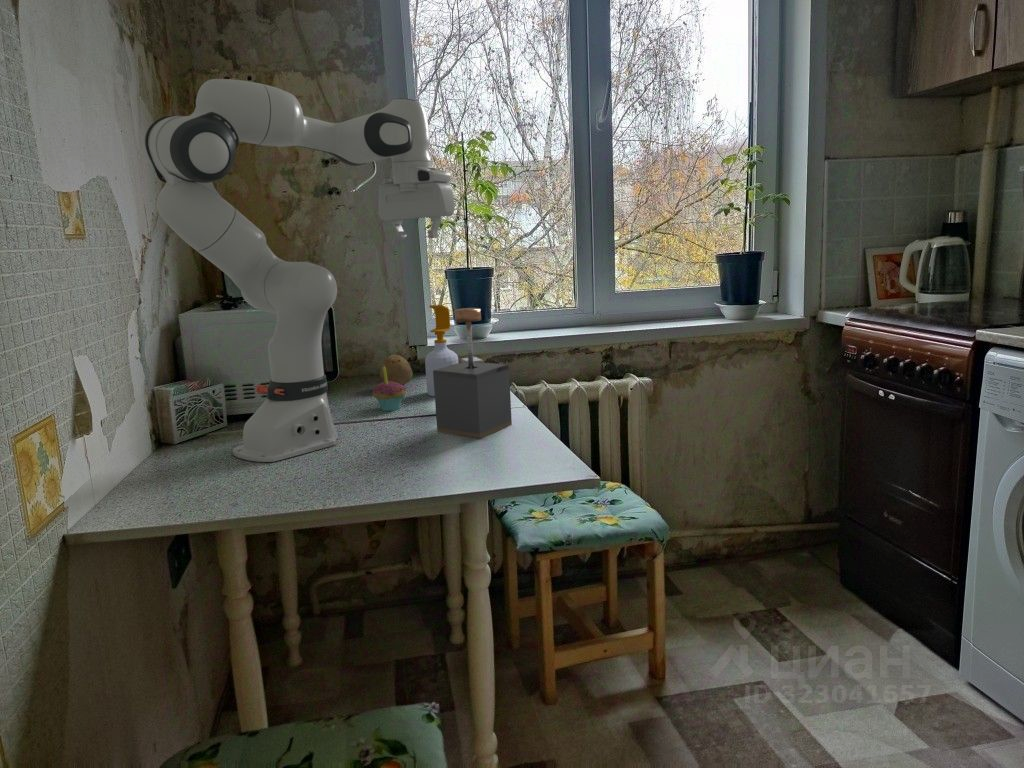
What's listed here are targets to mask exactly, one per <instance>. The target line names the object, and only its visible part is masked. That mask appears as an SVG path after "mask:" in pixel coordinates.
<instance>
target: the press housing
mask: <svg viewBox="0 0 1024 768" xmlns="http://www.w3.org/2000/svg"><path fill="white" fill-rule="evenodd" d="M433 378H434V392H435V397H434V400H435V401H434V403H435V404H434V405H435V416H436V431H437V433H443V434H448V435H454V436H460V437H467V438H473V439H483V438H485V437H487V436H490V435H491V434H495V433H497V432H499V431H501V430H503V429H505V428H507V427H510V426H512V425H513V423H512V419H513V418H512V404H511V403H512V402H511V399H512V398H511V384H510V383H511V381H510V364H508V363H496V362H484V361H483V362H474V369H469V367H468V361H464V362H461V361H460V362H458V364H454V365H451V366H447V367H444V368H440V369H437V370H434V371H433Z"/></svg>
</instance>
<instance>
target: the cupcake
mask: <svg viewBox="0 0 1024 768" xmlns="http://www.w3.org/2000/svg"><path fill="white" fill-rule="evenodd" d="M383 366H384V364H383ZM383 371H384V378H385V381H383V382H379V383H377V384H376V385H375V386H374V387H373V389H372V396H373V397H374V399H376V400H377V402H378V405H379V406H380V409H381V411H384V412H392V411H397V410H400V409H401V406H402V402H403V399H404V396H405V395H406V394H407V391H406V387H405V385H404V386H403V385H402V384H400V383H398V382H394V381H388V380H387V373H386V367H383Z"/></svg>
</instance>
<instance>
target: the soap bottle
mask: <svg viewBox="0 0 1024 768" xmlns="http://www.w3.org/2000/svg"><path fill="white" fill-rule="evenodd" d="M429 308H431V309H433V310H434V316H435V328H433V329H431V330H430V332H429V333H434V335H435V336H436V339H435V340H434V341H433V343H434V348H433V350H431V351H430V352H429V353H427V355H426V357H425V360H424V363H425V364H424V365H425V378H426V379H425V380H426V392H427V395H428V396H431V397H433V398H435V392H434V378H433V371H434V370H437V369H440V368H444V367H447V366H451V365H454V364H458V363H459V356H458V354H457V353H455V351H454V350H451V349H450V348H448V344H447V339H445V338H444V335H446V332H447V331H450V329H451V316H450V315H451V314H450V309H449V308H448V307H447V306H445V305H441V304H440V305H439V304H433V305H432V304H430V305H429Z"/></svg>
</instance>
